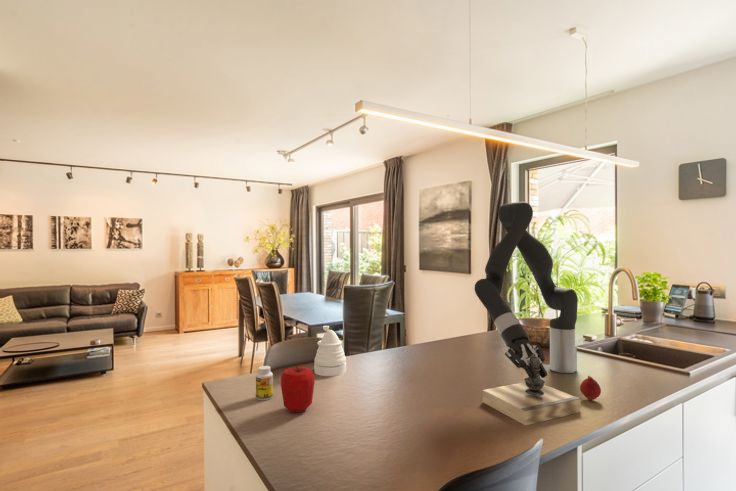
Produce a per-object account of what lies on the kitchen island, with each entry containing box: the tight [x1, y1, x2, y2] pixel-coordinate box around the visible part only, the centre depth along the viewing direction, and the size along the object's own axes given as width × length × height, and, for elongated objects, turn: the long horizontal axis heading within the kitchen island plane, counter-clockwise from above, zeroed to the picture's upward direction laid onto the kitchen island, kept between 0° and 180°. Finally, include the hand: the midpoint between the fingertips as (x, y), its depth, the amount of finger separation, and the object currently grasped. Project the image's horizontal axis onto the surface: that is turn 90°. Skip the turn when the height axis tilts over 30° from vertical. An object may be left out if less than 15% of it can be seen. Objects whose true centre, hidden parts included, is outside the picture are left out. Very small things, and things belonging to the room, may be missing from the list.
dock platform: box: [482, 381, 581, 426], centre depth 124 cm, size 22×18×4 cm
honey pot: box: [313, 325, 347, 377], centre depth 160 cm, size 13×13×18 cm
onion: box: [579, 375, 602, 401], centre depth 129 cm, size 6×6×8 cm
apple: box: [280, 366, 315, 413], centre depth 123 cm, size 10×10×14 cm
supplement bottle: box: [255, 365, 274, 401], centre depth 132 cm, size 6×6×10 cm
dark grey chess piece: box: [523, 354, 546, 396], centre depth 122 cm, size 6×6×12 cm
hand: (539, 377), depth 120 cm, fingers closed on dark grey chess piece, 3 cm apart
